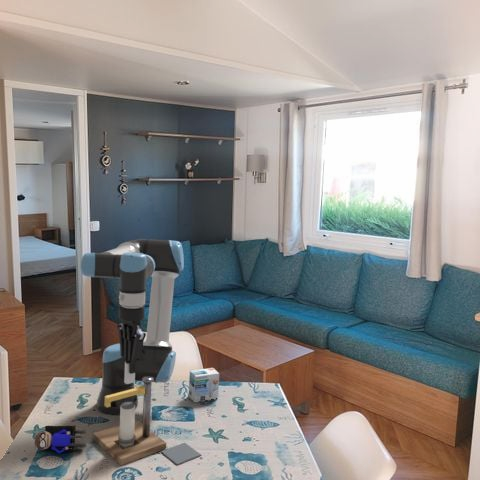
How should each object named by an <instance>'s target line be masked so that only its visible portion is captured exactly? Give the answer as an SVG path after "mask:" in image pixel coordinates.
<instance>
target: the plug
mask: <svg viewBox="0 0 480 480" xmlns="http://www.w3.org/2000/svg"><path fill="white" fill-rule="evenodd" d="M135 420H136V408H135V405H134V403H133V402H124V403H122V405H121V406H120V414H119V425H120V435H119V436H118V441H119V446H120V447H121V448H122V449H125V448H128V447H131V446H134V441H135V439H136V435H135V434H134V431H135Z"/></svg>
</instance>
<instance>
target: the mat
mask: <svg viewBox="0 0 480 480" xmlns="http://www.w3.org/2000/svg"><path fill="white" fill-rule="evenodd" d="M160 452H161V454H162V455H164V457H166V458H168V459H169V460H170V461H171V462H172V463H174V465H176V466H179V465H182V464H184V463H186V462H188V461H191V460H193V459H194V460H195V459H196V458H199V457H201V456H202V453H200V452H199V451H197V450H195V449H194V448H193V447H192V446H190V445H189V444H187V443H186V442H182V443H180V444H177V445H174V446H172V447H169V448H166V449H164V450H161V451H160Z"/></svg>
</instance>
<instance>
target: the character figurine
mask: <svg viewBox="0 0 480 480" xmlns="http://www.w3.org/2000/svg"><path fill="white" fill-rule="evenodd" d="M82 434H84V435H85V434H87V430H86V429H77V425H45V428H44V431H42V432H39V433H38V434H37V435H36V436H35V439H34V445H35V446H36V448H37V449H39V450H43V451H44V450H53V451H55V452H57V453H58V454H61V453H63V452H64V451H67V450H69V449H70V451H73V450H74V449H80V448H81V449H82V448H86V445H87V443H84V442H77V443H75V441H76V439H83V436H81V435H82Z"/></svg>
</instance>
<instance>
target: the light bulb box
mask: <svg viewBox="0 0 480 480" xmlns="http://www.w3.org/2000/svg"><path fill="white" fill-rule="evenodd" d="M188 378H189V381H188V383H189V384H188V397H189V398H190V399H191V401H192V400H193V401H192V402H193V403H194V402H195V403H200V402H199V401H201V402H206V401H205V400H208V401H212V400H211V399H214V400H217V399H216V398H218V399H219V386H220V373H219V372H218V371H217V370H216V369H215V368H214V367H208V368H202V369H195V370H189V377H188Z"/></svg>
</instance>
